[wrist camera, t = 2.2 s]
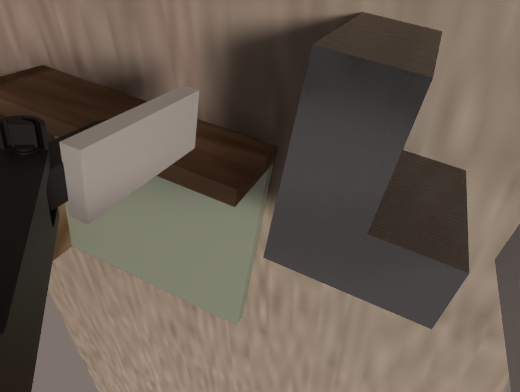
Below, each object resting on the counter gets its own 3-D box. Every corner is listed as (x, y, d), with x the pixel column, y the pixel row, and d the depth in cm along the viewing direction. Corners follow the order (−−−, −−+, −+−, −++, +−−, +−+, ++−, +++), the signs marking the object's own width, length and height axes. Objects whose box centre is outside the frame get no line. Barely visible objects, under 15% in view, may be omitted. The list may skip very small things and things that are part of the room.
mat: (42, 65, 31) (31, 68, 30) (277, 146, 26) (271, 152, 25) (70, 236, 41) (62, 241, 40) (241, 317, 37) (236, 325, 36)
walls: (42, 65, 31) (-32, 85, 26) (277, 146, 26) (237, 189, 21) (70, 236, 41) (20, 273, 37) (241, 317, 37) (209, 371, 32)
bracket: (362, 12, 20) (311, 44, 13) (529, 52, 18) (574, 116, 11) (316, 174, 26) (263, 257, 19) (439, 218, 24) (431, 329, 17)
